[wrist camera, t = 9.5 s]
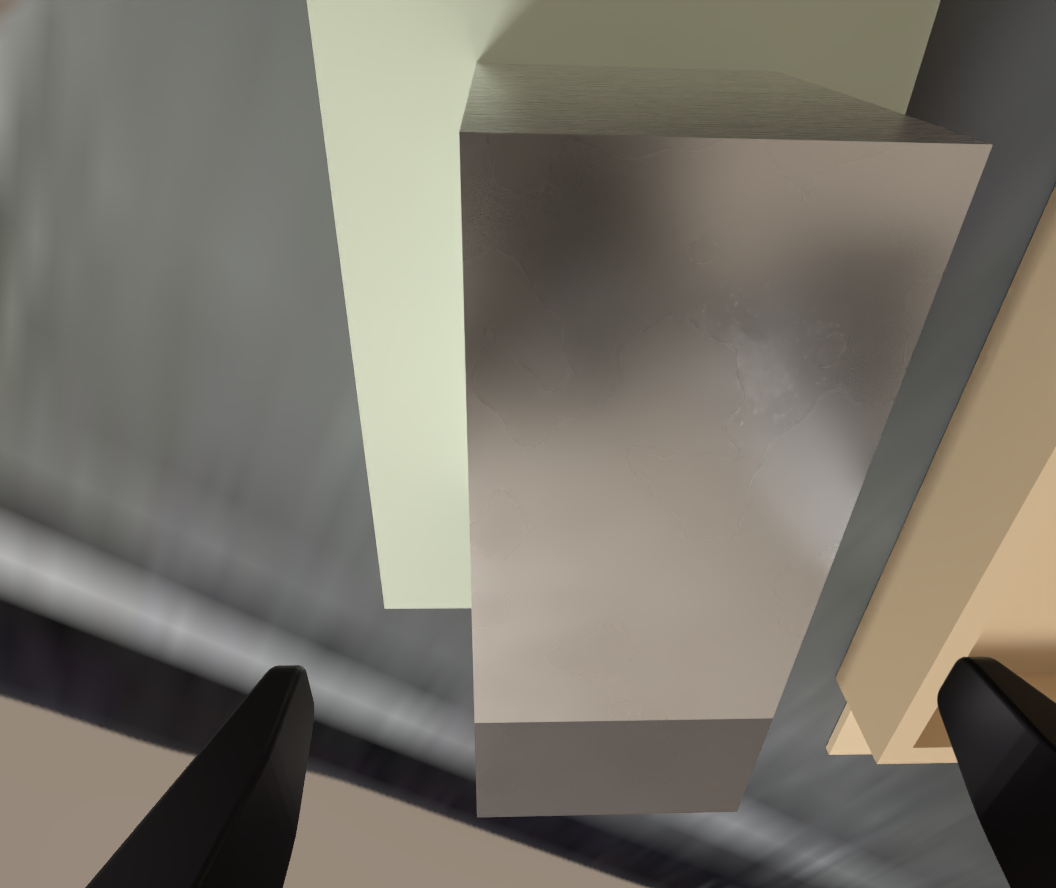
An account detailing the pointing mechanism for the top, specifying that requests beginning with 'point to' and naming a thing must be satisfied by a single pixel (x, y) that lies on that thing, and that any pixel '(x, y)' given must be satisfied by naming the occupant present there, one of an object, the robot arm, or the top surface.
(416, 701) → the top surface
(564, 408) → the metal tin
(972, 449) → the tray
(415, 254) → the sage board
